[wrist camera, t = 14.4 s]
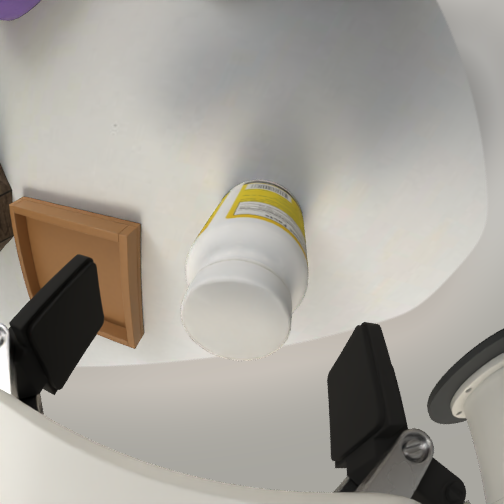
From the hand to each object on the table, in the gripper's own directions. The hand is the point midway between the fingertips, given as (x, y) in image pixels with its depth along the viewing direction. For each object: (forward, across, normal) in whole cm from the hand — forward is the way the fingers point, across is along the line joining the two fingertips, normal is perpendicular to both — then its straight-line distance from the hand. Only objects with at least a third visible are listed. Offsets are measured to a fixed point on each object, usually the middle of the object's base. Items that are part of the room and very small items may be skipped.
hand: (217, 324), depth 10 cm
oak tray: (+10, +14, +8) cm, 19 cm away
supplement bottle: (+10, -1, 0) cm, 10 cm away
